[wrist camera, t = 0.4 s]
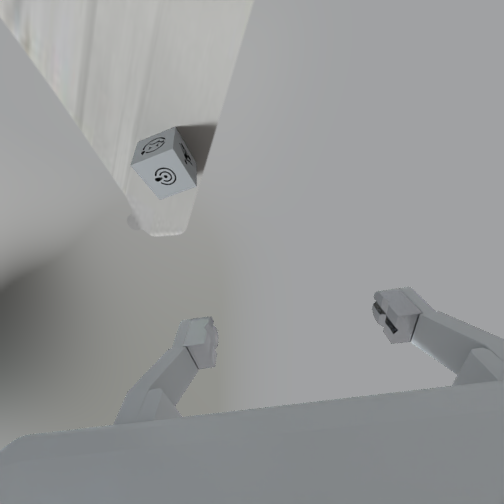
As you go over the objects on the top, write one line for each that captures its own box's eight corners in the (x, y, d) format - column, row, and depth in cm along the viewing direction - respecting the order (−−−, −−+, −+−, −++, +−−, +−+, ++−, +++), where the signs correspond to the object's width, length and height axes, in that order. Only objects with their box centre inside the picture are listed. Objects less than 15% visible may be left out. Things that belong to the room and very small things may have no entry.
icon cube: (163, 175, 60) (159, 199, 54) (137, 141, 52) (130, 165, 46) (196, 163, 58) (196, 186, 52) (175, 126, 50) (172, 148, 44)
